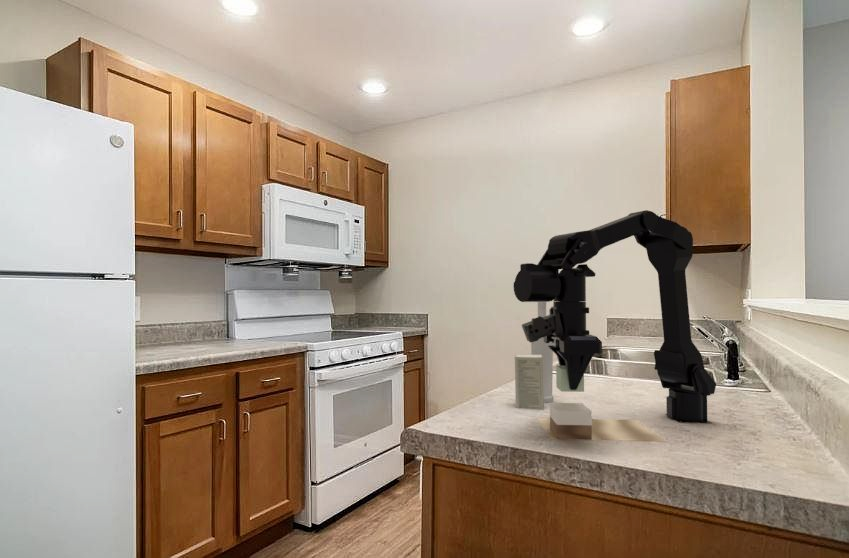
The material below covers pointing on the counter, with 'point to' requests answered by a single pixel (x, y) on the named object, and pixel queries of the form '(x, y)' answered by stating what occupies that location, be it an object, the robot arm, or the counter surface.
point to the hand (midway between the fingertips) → (570, 387)
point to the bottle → (544, 358)
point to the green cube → (566, 380)
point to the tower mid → (570, 414)
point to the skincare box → (529, 381)
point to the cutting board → (614, 430)
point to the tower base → (571, 431)
